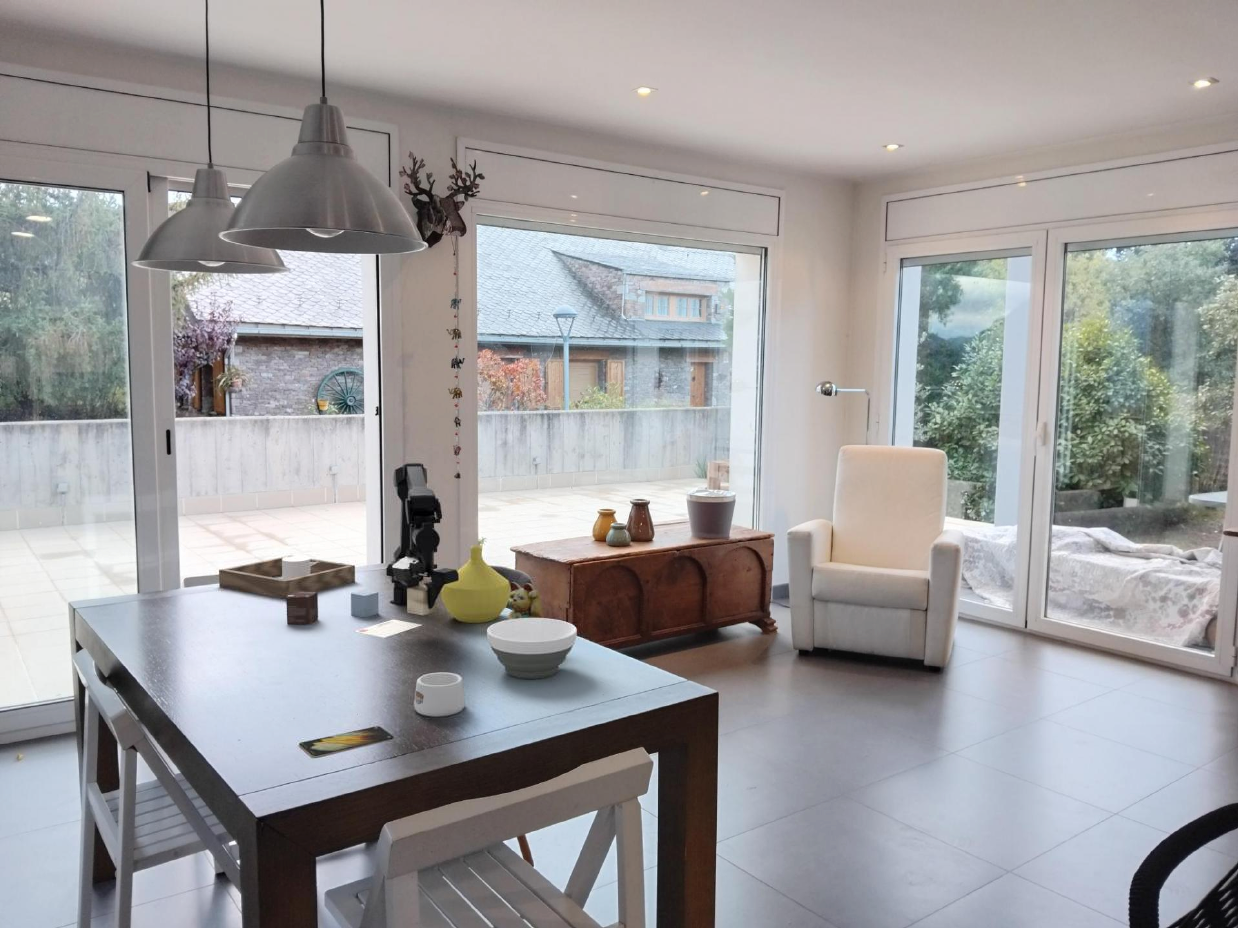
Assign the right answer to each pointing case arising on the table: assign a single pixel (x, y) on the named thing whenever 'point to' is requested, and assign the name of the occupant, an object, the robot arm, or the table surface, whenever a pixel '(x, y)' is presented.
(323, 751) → the smartphone
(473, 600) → the vase
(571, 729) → the table surface
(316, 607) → the box
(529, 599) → the decorative figurine
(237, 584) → the wooden tray
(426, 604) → the block
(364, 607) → the cube
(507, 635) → the bowl
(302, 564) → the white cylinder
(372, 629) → the letter
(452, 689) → the mug
